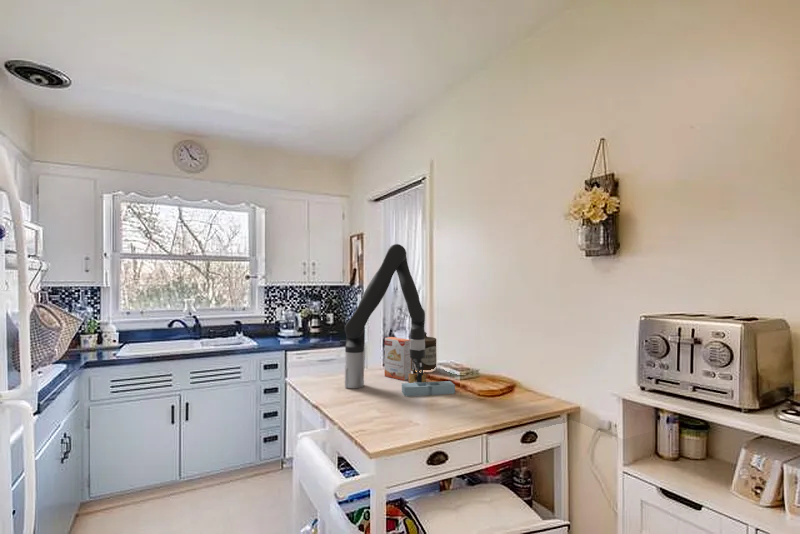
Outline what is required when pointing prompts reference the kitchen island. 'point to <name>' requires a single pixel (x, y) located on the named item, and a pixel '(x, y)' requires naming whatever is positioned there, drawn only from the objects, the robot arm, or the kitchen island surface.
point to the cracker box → (397, 358)
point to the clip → (414, 377)
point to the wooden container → (429, 354)
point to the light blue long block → (428, 388)
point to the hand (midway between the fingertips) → (417, 381)
